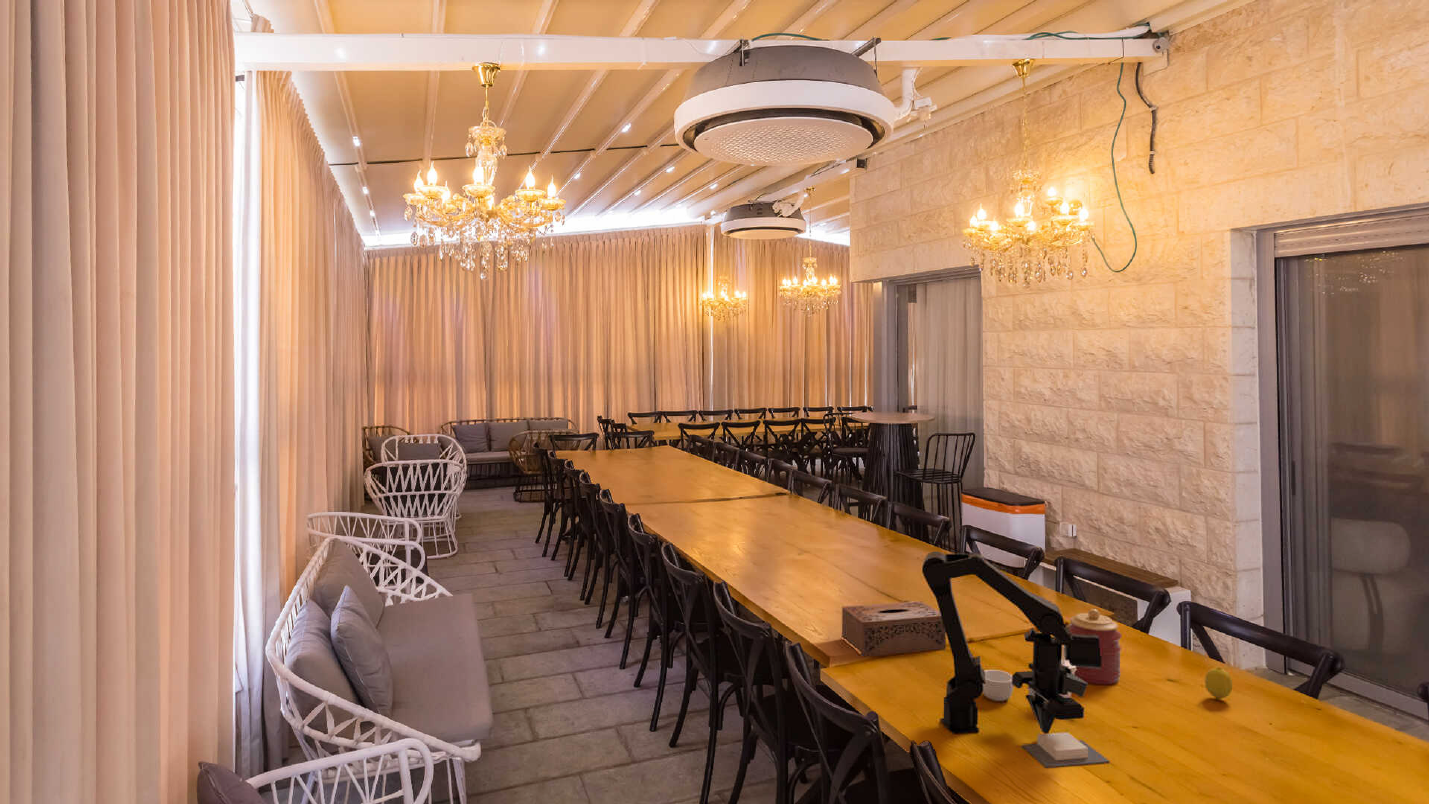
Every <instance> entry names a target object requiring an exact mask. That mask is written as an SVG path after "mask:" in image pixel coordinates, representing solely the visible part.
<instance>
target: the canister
mask: <svg viewBox="0 0 1429 804" xmlns="http://www.w3.org/2000/svg"><path fill="white" fill-rule="evenodd" d="M1069 621H1070V624H1068V625H1066V626H1067V627H1068V628H1069V630H1070V633H1072V634H1082V635H1097V636H1098V637H1099V645H1100V654H1101V668H1100V669H1096V668H1088V667H1079V666H1076V671H1075V673H1074V675H1075V676H1077V677H1079V678H1080V679H1082V680H1083V681H1085V682H1086V683H1088V684H1093V685H1113V684H1116V683H1118V682H1119V681H1120V678H1121V668H1120V667H1121V650H1122V647H1121V645H1120V639H1121V638H1122V633H1121V632H1120V631H1119V630H1118V627H1119V625H1118V623H1117V622H1116V621H1114V620H1113V619H1112V618H1110V617H1109V616H1107V615H1103V614H1100V612H1099V610H1098V609H1095V608H1091V609H1090V610H1089V611H1088V612H1080V613H1077V614H1076V615H1073V616H1072V617H1070V618H1069ZM1068 661H1069V660H1068Z"/></svg>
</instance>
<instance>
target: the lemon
mask: <svg viewBox="0 0 1429 804" xmlns="http://www.w3.org/2000/svg"><path fill="white" fill-rule="evenodd" d="M1204 684H1205V688H1206V690H1207V692H1208V693H1209V694H1210V695H1211V696H1212V697H1215V699H1216V700H1221V699H1225V698H1226V697H1227V698H1228V697H1229V696H1230V695H1231V693H1232V690H1233V680H1232V678H1231V675H1230V674H1229V673H1228V671H1226V670H1225V669H1223V668H1222V667H1220V666H1217V667H1214V668H1211V669H1209V670H1208V672H1207V673H1206V675H1205V681H1204Z"/></svg>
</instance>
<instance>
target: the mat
mask: <svg viewBox="0 0 1429 804" xmlns="http://www.w3.org/2000/svg"><path fill="white" fill-rule="evenodd" d="M1077 740H1078V739H1077ZM1078 741H1079V742H1081V743H1082V744H1083V745H1085V746H1086V747H1087V748H1088V758H1077V759H1065V760H1056V759H1054V758H1053V757H1052V756H1051V755H1050V754H1049V753H1047V752H1046V751H1045V750H1044V749H1043V748H1042V747H1040V746H1039V745H1038V744H1037V743H1029V744H1022V745H1021V747H1022V748H1024V750H1026V752H1028V753H1029V754H1030V755H1031V756H1032V757H1033V758H1034V759H1035V760H1037V762H1039V764H1041V765H1043V766H1044V768H1046V769H1050V768H1051V769H1052V768H1060V767H1071V766H1073V767H1074V766H1085V765H1095V764H1107V763H1110V760H1109V759H1107V758H1106V757H1105V756H1103V755H1102V754H1101V753H1099V752H1098V751H1097V750H1096V749H1094V747H1092V746H1090V745H1089V744H1088V743H1087V742H1085V741H1084V739H1080V740H1078Z"/></svg>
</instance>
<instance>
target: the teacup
mask: <svg viewBox="0 0 1429 804" xmlns="http://www.w3.org/2000/svg"><path fill="white" fill-rule="evenodd" d="M984 671H985V684H983V693H982V694H983V696H985V697H986V698H988V699H989V700H991V701H995V702H1005V701H1006V700H1009V698H1011V696H1012V694H1013V691H1014V685H1013V684H1012V676H1013V675H1012V674H1010V673H1009V672H1006V671H1004V670H998V669H984Z"/></svg>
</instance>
